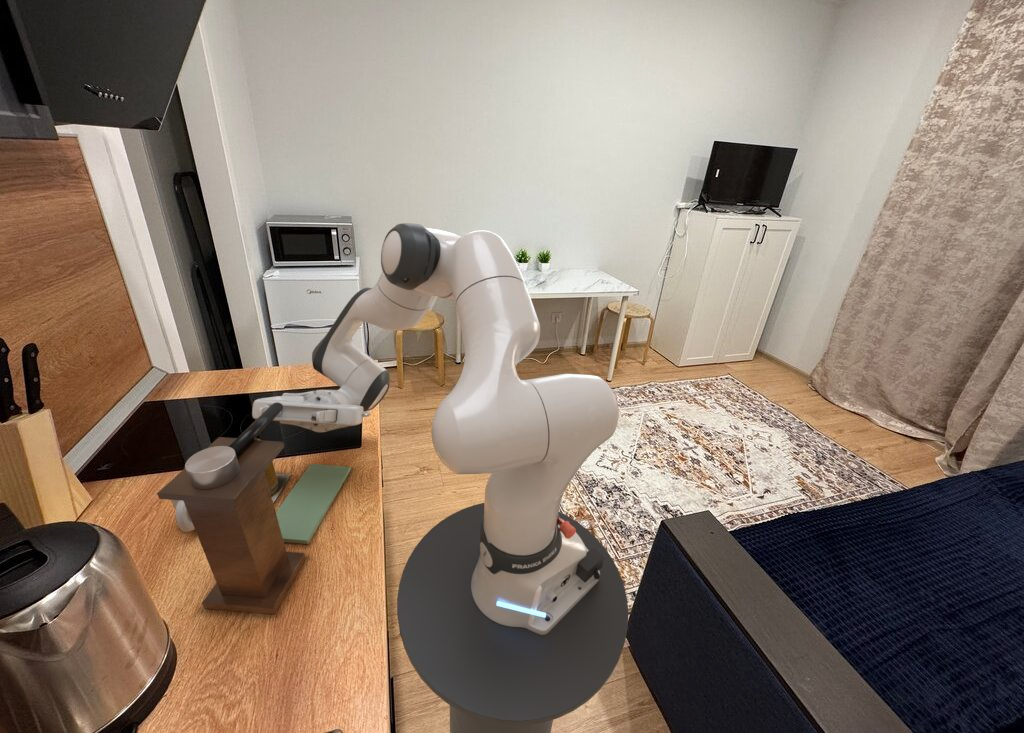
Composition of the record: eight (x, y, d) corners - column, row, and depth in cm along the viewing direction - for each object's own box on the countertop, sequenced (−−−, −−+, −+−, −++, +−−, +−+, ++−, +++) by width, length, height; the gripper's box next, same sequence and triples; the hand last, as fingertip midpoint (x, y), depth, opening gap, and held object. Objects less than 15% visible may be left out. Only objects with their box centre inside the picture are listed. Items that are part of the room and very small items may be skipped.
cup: (233, 500, 84) (222, 466, 80) (210, 541, 75) (196, 505, 71) (193, 503, 82) (179, 468, 78) (165, 545, 74) (148, 509, 70)
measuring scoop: (264, 408, 72) (261, 394, 70) (296, 410, 72) (294, 396, 70) (180, 487, 54) (173, 471, 53) (222, 491, 54) (217, 474, 53)
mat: (311, 467, 94) (310, 463, 93) (350, 470, 93) (350, 466, 93) (259, 540, 76) (258, 536, 75) (308, 544, 76) (307, 540, 75)
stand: (250, 544, 75) (215, 436, 64) (311, 549, 75) (286, 441, 64) (204, 609, 64) (152, 493, 53) (274, 614, 64) (237, 499, 53)
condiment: (236, 503, 83) (220, 455, 78) (257, 474, 91) (245, 428, 85) (273, 503, 84) (261, 456, 78) (292, 474, 91) (281, 430, 86)
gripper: (371, 429, 88) (345, 436, 74) (275, 422, 88) (231, 428, 74) (374, 399, 88) (348, 401, 74) (278, 392, 88) (235, 392, 74)
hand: (288, 414), depth 74 cm, fingers open, 8 cm apart
